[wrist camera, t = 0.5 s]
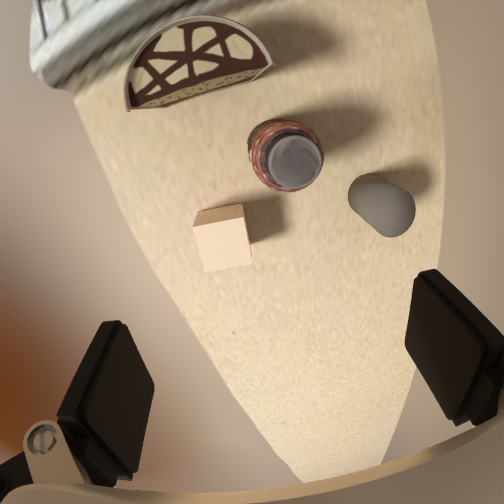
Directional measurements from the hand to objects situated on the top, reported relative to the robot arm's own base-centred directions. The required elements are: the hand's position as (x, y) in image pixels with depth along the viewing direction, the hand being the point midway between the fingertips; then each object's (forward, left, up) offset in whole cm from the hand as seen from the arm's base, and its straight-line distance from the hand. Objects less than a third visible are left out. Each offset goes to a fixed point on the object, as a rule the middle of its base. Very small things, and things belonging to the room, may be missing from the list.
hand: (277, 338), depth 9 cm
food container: (-13, -2, -26) cm, 29 cm away
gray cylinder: (+4, +14, -26) cm, 29 cm away
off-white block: (+5, -3, -26) cm, 27 cm away
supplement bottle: (-3, +4, -26) cm, 26 cm away
